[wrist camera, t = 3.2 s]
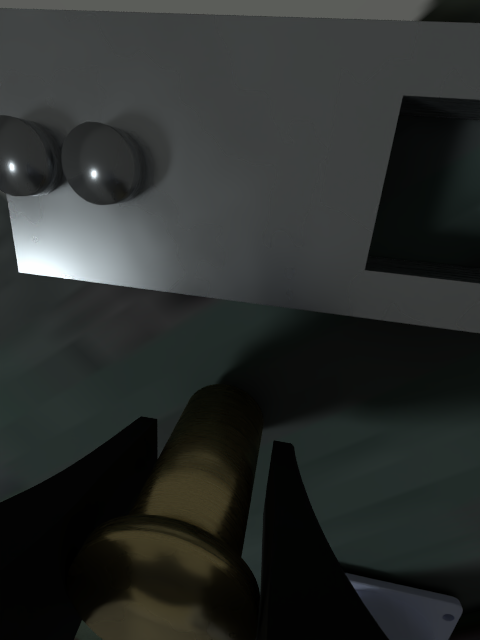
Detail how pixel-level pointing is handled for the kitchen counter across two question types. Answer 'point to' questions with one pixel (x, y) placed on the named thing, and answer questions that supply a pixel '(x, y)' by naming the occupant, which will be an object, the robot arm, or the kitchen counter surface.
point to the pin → (181, 535)
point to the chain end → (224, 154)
